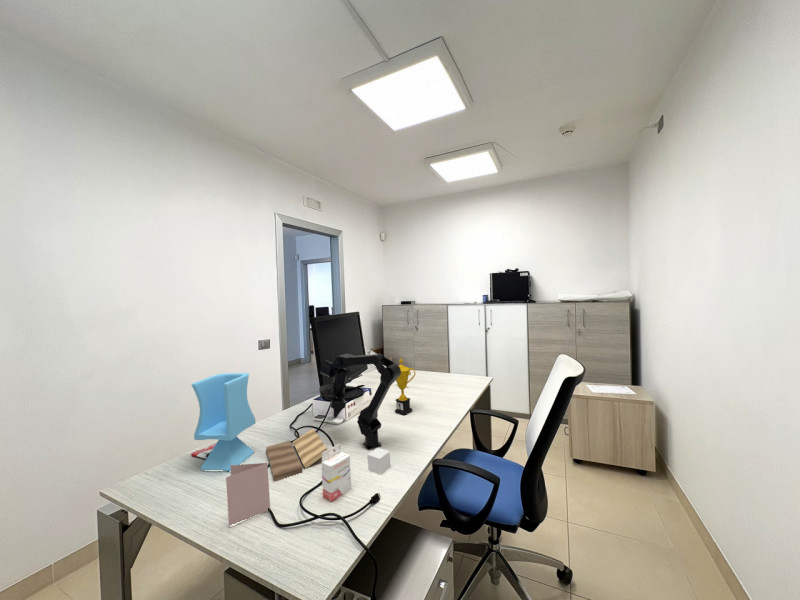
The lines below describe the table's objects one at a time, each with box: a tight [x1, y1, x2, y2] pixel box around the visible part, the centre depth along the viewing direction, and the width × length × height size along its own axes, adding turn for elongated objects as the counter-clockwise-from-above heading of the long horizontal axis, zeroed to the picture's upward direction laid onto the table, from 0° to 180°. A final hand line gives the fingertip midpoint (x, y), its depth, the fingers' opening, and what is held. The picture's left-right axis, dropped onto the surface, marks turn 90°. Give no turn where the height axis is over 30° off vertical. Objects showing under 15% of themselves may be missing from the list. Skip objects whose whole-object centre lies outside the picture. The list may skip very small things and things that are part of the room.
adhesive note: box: [367, 447, 391, 475], centre depth 116 cm, size 6×6×6 cm
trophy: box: [394, 358, 416, 416], centre depth 170 cm, size 19×10×30 cm, turn 51°
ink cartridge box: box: [320, 443, 352, 502], centre depth 103 cm, size 9×5×15 cm, turn 141°
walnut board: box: [265, 440, 303, 482], centre depth 125 cm, size 26×10×2 cm, turn 29°
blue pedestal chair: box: [191, 372, 256, 471], centre depth 126 cm, size 16×16×35 cm
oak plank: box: [292, 428, 328, 469], centre depth 130 cm, size 22×10×2 cm, turn 29°
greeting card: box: [225, 462, 271, 527], centre depth 93 cm, size 11×7×15 cm, turn 92°
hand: (334, 412), depth 143 cm, fingers open, 9 cm apart
